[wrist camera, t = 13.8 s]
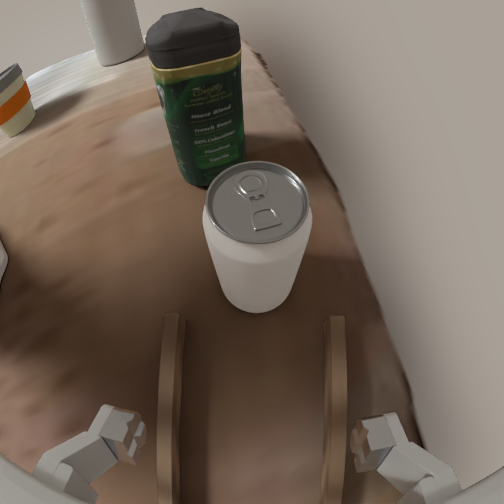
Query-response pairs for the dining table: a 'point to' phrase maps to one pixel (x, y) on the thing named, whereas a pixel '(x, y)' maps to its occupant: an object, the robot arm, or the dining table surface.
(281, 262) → the can
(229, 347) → the dining table surface
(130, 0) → the cylinder vase
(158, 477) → the rail channel
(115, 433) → the robot arm
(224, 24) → the coffee jar
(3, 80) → the reusable coffee cup
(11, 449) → the dining table surface
